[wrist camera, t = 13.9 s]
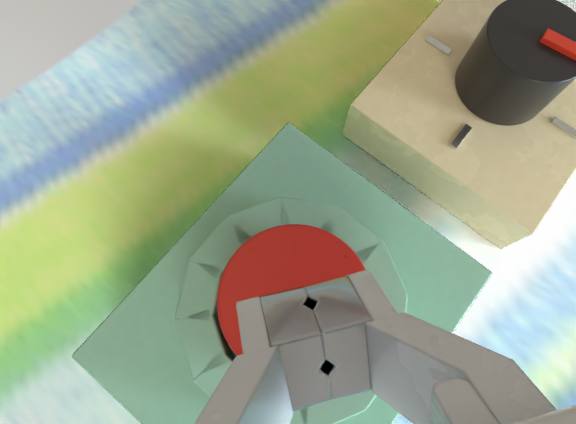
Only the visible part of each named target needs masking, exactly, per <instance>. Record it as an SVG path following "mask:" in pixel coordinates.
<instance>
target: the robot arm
mask: <svg viewBox="0 0 576 424" xmlns="http://www.w3.org/2000/svg"><path fill="white" fill-rule="evenodd" d="M260 300H261V302H260ZM261 305H262V306H261ZM236 308H237V315H238V322H239V329H240V336H241V343H242V350H243V354H241V355H237V356H236V357H235V359H234V360H233V362H232V363H231V365H230V367H229V368H228V370H227V371H226V373H225V375H224V376H223V378H222V379H221V381H220V383H219V384H218V386H217V387H216V389H215V391H214V392H213V394H212V396H211V397H210V399H209V400H208V402H207V404H206V405H205V407H204V408H203V410H202V412H201V413H200V415H199V416H198V418H197V420H196V421H195V423H194V424H290V422H291V419H292V416H293V411H296V410H299V409H302V408H306V407H309V406H312V405H316V404H319V403H322V402H325V401H329V400H332V399H336V398H340V397H345V396H349V395H353V394H357V393H361V392H365V391H369V390H372V392H373V393H374V394H375V395H377V396H378V397H379V398H381V399H382V400H383V401H384V402H386V403H387V404H388V405H390V406H391V407H392V408H394V409H395V410H396V411H398V412H399V413H400V414H401V415H403V416H404V417H405V418H407V419H408V420H409V421H411V422H412V423H413V424H576V405H572V406H569V407H565V408H562V409H558V410H556V409H555V407H554V406H553V405H552V404H551V403H550V402H549V401H548V399H547V398H546V397H545V396H544V395H543V394H542V393H541V391H540V390H539V389H538V388H537V387H536V386H535V385H534V383H533V382H532V381H531V380H530V379H529V378H528V377H527V375H526V374H525V373H524V372H523V371H522V370H521V369H520V367H519V366H518V365H517V364H516V363H515V362H514V361H513V360H512V359H510V358H507V357H505V356H503V355H500V354H498V353H496V352H494V351H491V350H489V349H487V348H484V347H482V346H480V345H478V344H475V343H473V342H471V341H469V340H466V339H464V338H462V337H459V336H457V335H455V334H453V333H450V332H448V331H446V330H444V329H441V328H439V327H437V326H434V325H432V324H430V323H428V322H425V321H423V320H421V319H419V318H416V317H414V316H412V315H409V314H407V313H401V314H398V313H397V311H396V310H395V308H394V307H393V305H392V303H391V302H390V300H389V299H388V297H387V296H386V294H385V293H384V291H383V290H382V288H381V287H380V285H379V284H378V282H377V281H376V279H375V277H374V276H373V274H372V273H371V271H369V270H364V271H360V272H356V273H353V274H349V275H346V276H344V277H340V278H336V279H332V280H328V281H324V282H320V283H316V284H312V285H308V286H303V287H298V288H294V289H289V290H285V291H280V292H276V293H271V294H267V295H262V296H260V298H259V297H254V298H250V299H245V300H241V301H237V303H236ZM262 309H263V311H262ZM263 314H264V315H263ZM264 318H265V319H264ZM266 327H267V328H266Z"/></svg>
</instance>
